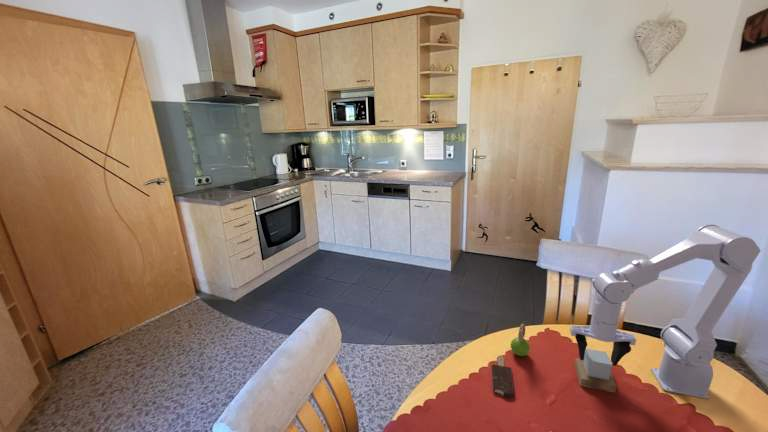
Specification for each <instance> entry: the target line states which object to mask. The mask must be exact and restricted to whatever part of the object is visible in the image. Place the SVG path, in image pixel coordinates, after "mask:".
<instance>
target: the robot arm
mask: <svg viewBox="0 0 768 432" xmlns="http://www.w3.org/2000/svg"><path fill="white" fill-rule="evenodd" d="M760 253H761V249H760V247H759V245H757V243H756V241H754V240H753V239H752V238H750V237H747V236H743V235H741V234H738V233H736V232H734V231H733V232H732V231H731V230H728V229H726V228H722V227H720V226H719V225H716V224H711V223H710V224H709V223H708V224H703V225H702V226H700V227H698V228H696V229H695V230H691V231H690V232H689V233H688V234H687V237H686V238H685V239H683V240H682V241H679V243H676V244H675V245H673V246H671V247H669V248H668V249H666V250H665V251H663V252H661V253H659V254H658V255H656V256H654V257H652V258H651V259H644V258H639V259H634V260H632V261H630V263H629V264H626V265H624V266H623V267H621V268H619V269H617V270H616V269H615V270H613V271H612V272H603V273H600V274H598V275H597V276H596V277H595V279H594V280H592V281H591V282H592V283H591V284H592V286H593V289H595V294H594V295H595V297H594V302H593V308H592V312H591V313H592V315H591V319H590V325H588V324H587V325H570V326H569V327H570V328H569V332H570V335H571V336H572V337H575V339H576V343H577V347H578V358H579V359H580V360H584V354H585V349H587V347H588V342H587V338H586V337H588V338H591V339H594V340H597V341H600V342H604V343H613V346H612V352H611V356H610V361H611V363H612V367H613V366H615V367H616V366H618V363H619V362H620V361H621V360H622V358H623V357H624V356H626V355H627V354H629V353H631V351H632V346H636V343H637V338H636V336H635V335H634V334H632V333H627V332H624V331H621V330H617V329H618V327H619V321H620V315H621V311H622V307H623V306H622V305H623V302H626V301H627V300H628V299H630V297H631V295H632V294H635V293H634V292H635V291H636V290H638V289H640V288H642V287H645V286H647V285H649V284H650V283H653V282H656V281H657V280H658V279H659V278H660V277H659V276H660V274H661V273H662V272H665V271H667V270H670V269H673V268H675V267H677V266H680V265H683V264H686V263H689V262H691V261H693V260H695V259H699V260H704V261H705V260H706V261H711V263H712V264H713V265H714V267H713V269H712V271H711V272H710V274H709V275H708V277H707V279H706V281H705V282H704V284H703V285H702V287H701V288H700V290H699V292H698V294H697V295H696V296H695V298H694V300H693V301H692V303H691V305H690V306H689V308H688V310H687V311H686V313H685V315H684V316H683V318H673V319H671V321H670V323H669V324H668V325H666V326H665V327H664V328H662V329H661V332H660V339H661V340H662V341H663V342H664V343H663V347H664V351H663V354H662V358H661V362H660V365H659V368H655V367H651V369H650V370H651V372H652V374H653V375H654V376H655V377H654V378H656V380H657V382H658V383H659V385H660V387H661V389H662V390H663V391H665V392H669V393H675V394H681V395H685V396H690V397H697V398H702V399H707V400H708V399H709V397H710V396H709V395H708V393H709V390H710V387H711V384H712V382H713V378H714V370H713V366H712V364H711V362H713V361H712V360H713V359H714V357H715V354H714V353H715V350H716V348H717V346H718V344H717V342H716V339H715V338H714V334H713V332H712V331H713V329H714V327H715V326H716V325H717V323H718V322H719V320H720V319H721V317H722V316H723V314H724V312H725V311H726V309H727V308H728V307H729V305H730V304H731V301H732V300H733V299H734V297H735V295H736V294H737V292H738V291H739V289H740V288H741V287H742V284H744V282H745V280H746V279H747V277H748V275H749V274H750V272H751V271H752V269H753V263H754V262H755V261H756V259H757V257H758V256H759V254H760Z"/></svg>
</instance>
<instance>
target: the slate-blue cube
mask: <svg viewBox="0 0 768 432" xmlns="http://www.w3.org/2000/svg"><path fill="white" fill-rule="evenodd" d="M583 365H584V367H585V370H586V373H587V376H590V377H596V378H601V379H607V380H609V377H610V373H611V374H612V368H613V364H612V362H611V358H610V357H609V355H608V353H607V351H603V350H596V349H591V348H586V349H585V354H584V360H583Z"/></svg>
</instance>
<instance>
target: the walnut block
mask: <svg viewBox="0 0 768 432" xmlns="http://www.w3.org/2000/svg"><path fill="white" fill-rule="evenodd" d="M574 369H575V372H576V377H577V379H578V384H579V386H580V387H583V388H588V389H589V388H590V389H594V390H599V391H604V392H609V393H614V394H615V393H616V389H617V383H616V381H615V378H614V377H613V374H612V372H611V373H610V377H609V380H607V379H601V378H596V377H590V376H587V373H586V370H585V367H584V365H583V360H580V357H575V358H574Z"/></svg>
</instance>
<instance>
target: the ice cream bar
mask: <svg viewBox="0 0 768 432" xmlns="http://www.w3.org/2000/svg"><path fill="white" fill-rule="evenodd" d="M504 360H505V359H504V357H503V356H502V355H498V356H497V364H491V376H492V377H493V379H492V393H493V392H494V393H493V394H495V392H497V393H496V394H500V395H502V396H503V398H507V399H512V398H514V396H515V387H514V382H513V373H512V367H509V366H505V361H504Z"/></svg>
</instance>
